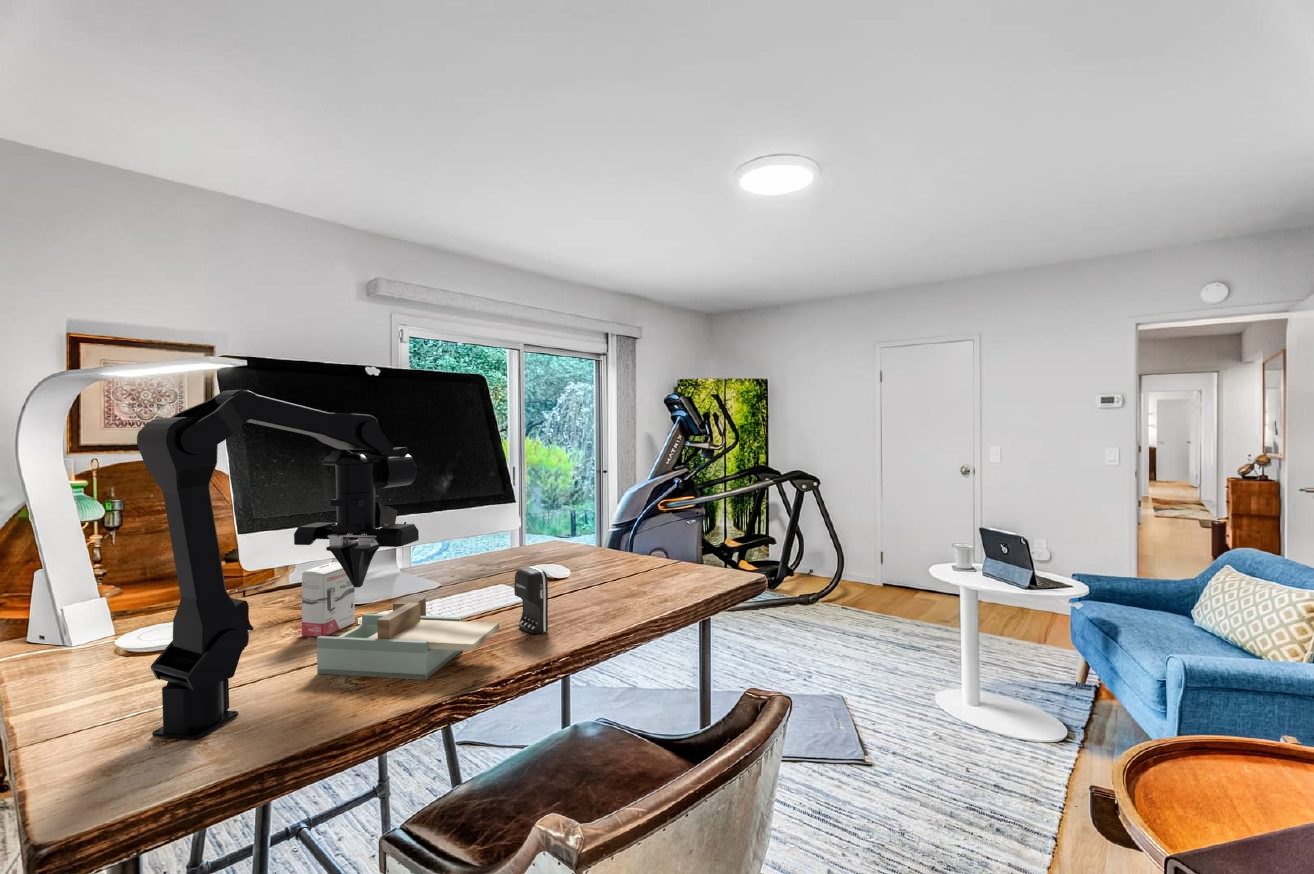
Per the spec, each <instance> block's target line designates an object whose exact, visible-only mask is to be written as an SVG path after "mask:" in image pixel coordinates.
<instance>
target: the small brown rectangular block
mask: <svg viewBox="0 0 1314 874" xmlns="http://www.w3.org/2000/svg"><path fill="white" fill-rule="evenodd" d="M426 599H427V598H426V597H415V596H414V597H411V596H410V597H408V596H404V597H403V598H400V599H399V600H397V601H395V602H393V603H392V611H394V610H396V609H398V608H400V607H402V606H404V605H405V604H407V603H420V616H427V602H426V601H427V600H426Z"/></svg>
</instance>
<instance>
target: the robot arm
mask: <svg viewBox="0 0 1314 874" xmlns="http://www.w3.org/2000/svg"><path fill="white" fill-rule="evenodd" d="M246 422H247V423H250V424H255V425H260V426H264V427H269V428H273V429H279V430H283V431H288V432H294V433H297V434H303V435H308V436H310V437H313V438H315V439H317V440H318V441H319V442H321V443H322V444H326V445H328V446H330V447H332V448H334V449H333V450H332V451H331V453H330V454H329V455H327V456H326V457H325V458H324V459H323V460H322V461H321V463H322V465H323V466H335V494H336V495H335V497H336V498H334V499H330V506H331V507H336V522H318V521H317V522H313V523H309V524H306V525H305V524H304V525H301V526H298V527H297V528H296V530H295V532H294V533H293V544H294V546H310V545H313V544H314V542H315V541H316V540H328V541H329V543H328V544H329V546H327V547H325V550H326V551H327V552H331V553H332V555H333V557H335V559H336V561H337V562H339V563H340V565H341V566H342V568H343V569H344V571H345V573H346V574H347V576H348V578H349V580H350V581H351V583H352V585H353V587H355V588H361V587H362V586H363V585H364V582H365V579H366V576H367V573H368V571H369V568H370V565H371V562H372V560H373V558H374V556H375V554H376V552H377V551H378V550H379V549H380V548H382V547H383V548H385V547H387V548H398V547H399V548H400V547H404V546H406V545H409V544H412V543H415V542H417V541H419V539H420V537H419V536H420V535H419V533H420V532H419V531H420V530H419V529H418V528H417V526H416V525H415V523H396V521H397V515H398V510H397V509H395V508H392V507H390V506H386V505H383V504H382V498H381V495H376V488H377V489H387V488H394V487H401V486H402V487H403V486H409V485H411V484H413V483H414V481H416V478H417V475H418V466H417V465H416V462H415V460H414V458H413V456H411V455H410V454H409V448H408V447H402V446H400V447H397V446H396V447H393V446H392V444H391V442H390V440H388V438H387V437H386V435H385V433H384V432H383V431H382V429H381V426H380V423H379V422H378V418H376V417H375V416H374V415H371V414H367V413H353V412H352V413H349V412H348V413H347V412H328V411H324V410H321V409H315V408H313V407H312V408H311V407H308V406H305V405H300V404H296V403H292V402H288V401H284V400H280V399H276V398H272V397H269V396H264V395H260V394H257V393H255V392H253V391H250V390H249V389H233V390H230V389H229V390H223V391H220V392H219V393H218V394H216V395H215V396H214V397H213V396H212V397H211V398H210V399H208V400H206V401H203V402H201V403H198V404H196V405H194V406H191V407H189V408H186V409H184V410H182V411H180V412H178V413H176V414H174V415H173V416H170V417H158V418H155V419H154V418H153V419H152V420H150V421H148V422H147V423H145V424H144V425H143V427H141V429H140V430H139V431H138V432H137V436H136V445H137V448H138V452H139V453H140V455H141V458H142V462H143V463H144V466H145V468H146V470H147V472H148V473H149V474H150V476H151V477H152V478H153V480H154V481H155V483H156V484H157V485H158V487H159V488H160V490H161V491H162V496H163V501H164V507H165V513H166V520H167V525H168V531H169V538H170V542H171V549H172V554H173V560H174V566H175V570H176V571H175V572H176V576H177V583H178V587H179V595H180V600H179V604H178V606H177V609H176V611H175V614H174V617H173V620H172V621H173V622H172V639H171V640H172V641H170V643H168V645H167V646H166V647H165V649H163V651H162V652H161V653H160V654H159V655H158V656H157V658H156V659H154V661H153V662H152V664H151V665H150V670H151V671H152V673H153V676H154V677H155V679H156V680H159V681H160V680H161V681H166V682H167V683H166V685H165V686H162V687H161V703H162V704H161V705H162V726H160V727H159V728H157V729H155V730H153V731H152V733H151V734H152V735H151V736H152V737H159V738H170V739H171V738H172V739H183V740H197V739H200V738H202V737H203V736H205V735H207V734H209V733H210V732H212V731H214V730H215V729H217V728H219V727H220V726H222V725H224V724H226V723H228V722H229V721H232V720H233V719H234V718H236V717H238V716H239V711H237V710H230V691H229V688H230V687H229V684H230V683H229V681H230V680H229V679H232V678H234V676H235V674H236V671H237V667H238V664H239V662H240V658H241V655H242V652H244V651H245V648H247V646H248V645H249V643H250V642H249V641H250V632H249V631H253V630H254V626H252V624H251V621H250V618H249V617H250V615H249V613H250V607H249V604H248V601H247V600H246V599H245V600H244V599H240V598H239V599H238V598H233V597H231V596H230V594H229V593H228V592H227V591H228V590H227V588H226V582H225V576H224V571H223V564H222V557H221V552H220V551H221V550H220V545H219V537H218V533H217V527H216V520H215V515H214V507H213V503H212V496H211V488H210V484H211V481H212V478H213V475H214V474H215V470H216V468H217V466H218V465H217V464H218V453H219V452H218V449H219V448H218V446H219V444H221V443H222V442H224V441H226V440H227V439H228V438H230V437H232V436H234V435H235V433H236V432H237V431H238V430H239V429H240V428H241V427H242V426H243V425H244V424H245V423H246ZM344 450H346V451H347V452H349V453H346V452H345V451H344ZM365 455H366V456H367V457H366V456H365Z"/></svg>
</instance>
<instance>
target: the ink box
mask: <svg viewBox="0 0 1314 874" xmlns="http://www.w3.org/2000/svg"><path fill="white" fill-rule="evenodd" d="M355 588H356V587H353V585H352V583H351V581H350V580H349V578H348V576H347V574H346V573H345V571H344V569H343V568H342V566H341V565H340V563H339V562H338V561H333V562H332V561H331V562H329V563H325V564H322V565H318V566H315V567H313V568H307V569H305V570H304V571H303V572H302V573H301V636H303V637H304V636H306V637H316V638H317V637H319V636H330V635H331V634H333V633H335V632H337V631H339V630H342V629H344V628H346V627H348V626H350V625H352V624H355V622H356V621H355V615H356V614H355V613H356V611H355V607H356V606H355V602H356V601H355V600H356V599H355V598H356V597H355V596H356V595H355V591H356V589H355Z"/></svg>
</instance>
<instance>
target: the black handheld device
mask: <svg viewBox="0 0 1314 874" xmlns="http://www.w3.org/2000/svg"><path fill="white" fill-rule="evenodd" d="M513 584H514V587H513V588H514V596H515V597H518V598H520V599H521V600H522V613H521V617H520V620H519V622H518V627H519V628H520V629H521V630H522V631H525V632H527V633H530V634H532V635H534V634H535V635H536V634H541V633H546V632H548V630H549V618H548V617H549V610H548V609H549V588H548V587H549V585H548V575H547V573H546V571H545V570H543V569H541V568H538V567H535V566H527V567H522V568H519V569H518V570H516V571H515V574H514V583H513Z"/></svg>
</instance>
